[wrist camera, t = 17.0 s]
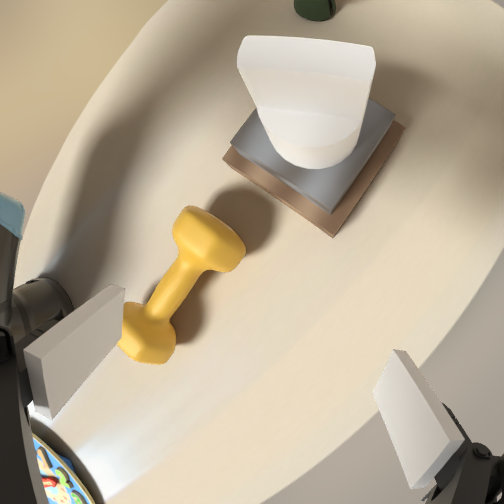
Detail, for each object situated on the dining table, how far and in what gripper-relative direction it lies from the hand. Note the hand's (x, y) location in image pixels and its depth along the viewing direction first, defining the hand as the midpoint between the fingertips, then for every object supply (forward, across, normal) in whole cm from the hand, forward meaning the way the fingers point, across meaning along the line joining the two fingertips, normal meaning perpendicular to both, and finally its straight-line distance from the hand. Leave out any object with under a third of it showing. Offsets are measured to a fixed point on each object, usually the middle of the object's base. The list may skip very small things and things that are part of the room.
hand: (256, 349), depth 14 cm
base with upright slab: (+18, +2, +14) cm, 23 cm away
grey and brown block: (+26, +4, +12) cm, 29 cm away
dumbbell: (+25, -8, -8) cm, 27 cm away
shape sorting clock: (+20, -34, -63) cm, 74 cm away
